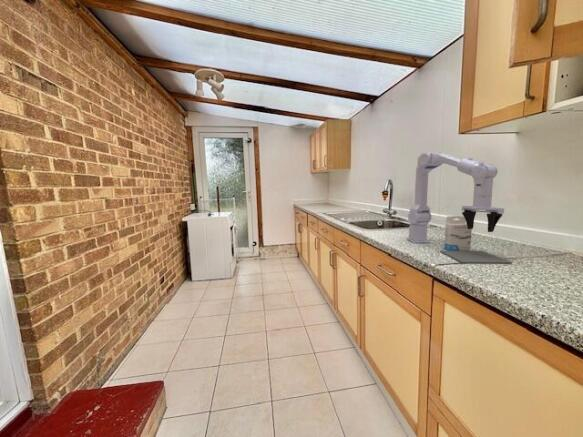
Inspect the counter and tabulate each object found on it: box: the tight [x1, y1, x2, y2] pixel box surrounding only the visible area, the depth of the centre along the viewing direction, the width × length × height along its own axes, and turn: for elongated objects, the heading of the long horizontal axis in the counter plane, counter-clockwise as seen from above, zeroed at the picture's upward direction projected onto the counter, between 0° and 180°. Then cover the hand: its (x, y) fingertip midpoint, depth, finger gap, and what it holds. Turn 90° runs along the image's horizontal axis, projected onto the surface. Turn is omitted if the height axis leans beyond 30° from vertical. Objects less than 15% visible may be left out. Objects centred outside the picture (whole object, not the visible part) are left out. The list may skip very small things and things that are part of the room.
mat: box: [439, 250, 513, 265], centre depth 99 cm, size 16×17×1 cm
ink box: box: [443, 215, 473, 251], centre depth 109 cm, size 9×5×15 cm, turn 84°
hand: (480, 230), depth 100 cm, fingers open, 7 cm apart
